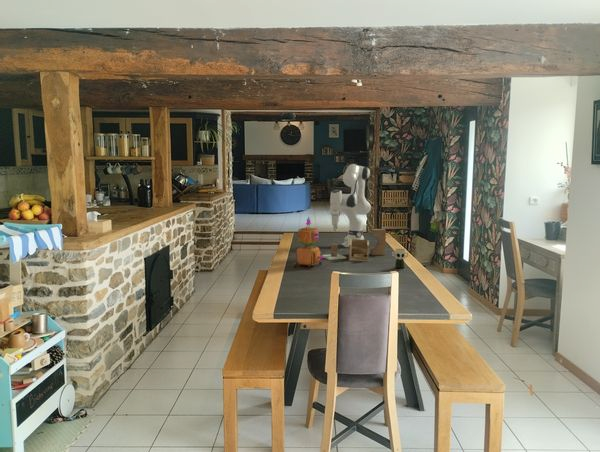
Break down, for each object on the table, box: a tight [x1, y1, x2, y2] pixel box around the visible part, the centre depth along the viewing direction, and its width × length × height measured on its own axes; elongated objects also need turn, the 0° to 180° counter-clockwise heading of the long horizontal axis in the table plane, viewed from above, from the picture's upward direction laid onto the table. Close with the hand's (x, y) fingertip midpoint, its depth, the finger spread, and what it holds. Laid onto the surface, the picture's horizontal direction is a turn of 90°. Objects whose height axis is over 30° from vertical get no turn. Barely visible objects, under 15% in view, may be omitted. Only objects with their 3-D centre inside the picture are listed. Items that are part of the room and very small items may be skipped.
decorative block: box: [369, 228, 387, 256], centre depth 389 cm, size 11×6×20 cm, turn 89°
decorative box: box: [293, 216, 324, 270], centre depth 343 cm, size 19×21×35 cm
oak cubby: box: [348, 239, 370, 262], centre depth 377 cm, size 26×14×12 cm, turn 172°
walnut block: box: [330, 243, 339, 257], centre depth 376 cm, size 4×4×9 cm
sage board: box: [321, 253, 347, 261], centre depth 377 cm, size 14×14×1 cm
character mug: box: [391, 248, 409, 269], centre depth 341 cm, size 11×7×13 cm, turn 84°
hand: (335, 229), depth 375 cm, fingers open, 8 cm apart
